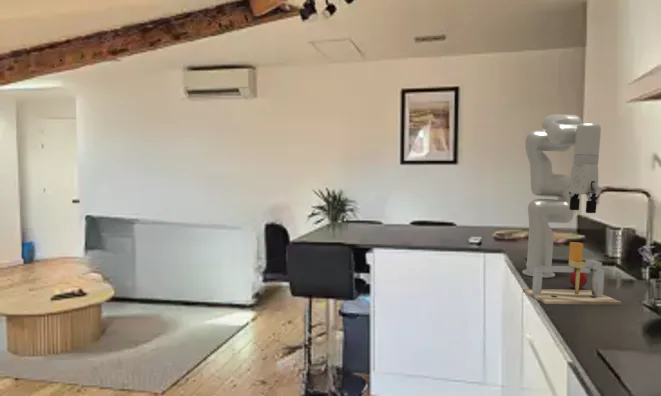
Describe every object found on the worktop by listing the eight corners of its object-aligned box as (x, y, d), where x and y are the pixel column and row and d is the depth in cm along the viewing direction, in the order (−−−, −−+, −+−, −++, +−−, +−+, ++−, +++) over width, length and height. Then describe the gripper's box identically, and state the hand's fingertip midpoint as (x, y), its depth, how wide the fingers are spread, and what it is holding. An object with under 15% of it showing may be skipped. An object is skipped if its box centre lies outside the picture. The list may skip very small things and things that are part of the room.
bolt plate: (522, 291, 187) (523, 288, 187) (592, 292, 189) (592, 289, 189) (545, 303, 171) (545, 300, 171) (620, 304, 173) (620, 301, 173)
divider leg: (566, 291, 181) (569, 242, 180) (574, 291, 181) (578, 242, 180) (574, 294, 176) (577, 244, 175) (582, 294, 177) (586, 244, 176)
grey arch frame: (531, 293, 180) (534, 258, 179) (598, 294, 182) (600, 260, 181) (538, 297, 175) (540, 261, 174) (606, 298, 177) (609, 262, 177)
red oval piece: (567, 288, 194) (568, 267, 194) (571, 286, 199) (572, 265, 198) (584, 291, 191) (585, 269, 190) (587, 289, 195) (589, 267, 195)
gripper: (561, 160, 184) (558, 208, 186) (590, 160, 167) (586, 214, 168) (581, 160, 185) (578, 209, 186) (612, 161, 168) (608, 214, 169)
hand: (582, 211), depth 177 cm, fingers open, 9 cm apart
